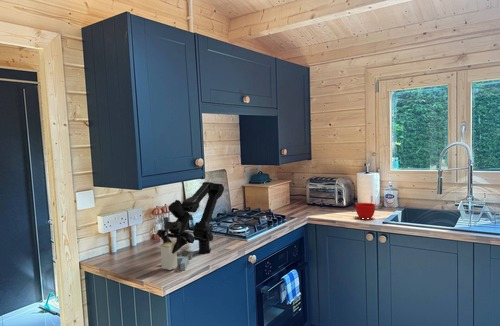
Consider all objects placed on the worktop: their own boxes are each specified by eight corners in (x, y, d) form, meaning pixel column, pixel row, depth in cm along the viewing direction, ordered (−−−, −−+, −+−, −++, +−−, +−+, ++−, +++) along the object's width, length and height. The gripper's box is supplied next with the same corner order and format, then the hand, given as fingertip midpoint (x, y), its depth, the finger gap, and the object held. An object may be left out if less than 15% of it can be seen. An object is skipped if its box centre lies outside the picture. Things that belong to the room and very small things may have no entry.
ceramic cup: (371, 215, 261) (371, 201, 260) (377, 220, 244) (377, 206, 243) (353, 215, 262) (353, 202, 261) (357, 220, 245) (357, 206, 245)
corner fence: (162, 264, 171) (162, 257, 171) (188, 263, 171) (188, 256, 171) (157, 271, 162) (157, 264, 162) (185, 270, 162) (184, 263, 162)
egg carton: (185, 256, 183) (184, 248, 183) (195, 258, 179) (195, 250, 178) (168, 262, 175) (168, 254, 175) (178, 265, 170) (178, 256, 170)
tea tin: (168, 264, 167) (167, 241, 167) (177, 266, 165) (176, 242, 164) (161, 268, 163) (160, 244, 162) (170, 270, 160) (169, 246, 160)
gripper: (158, 212, 171) (142, 241, 162) (189, 215, 162) (175, 246, 153) (169, 225, 178) (155, 253, 169) (200, 228, 170) (187, 258, 161)
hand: (167, 252), depth 163 cm, fingers closed on tea tin, 5 cm apart
